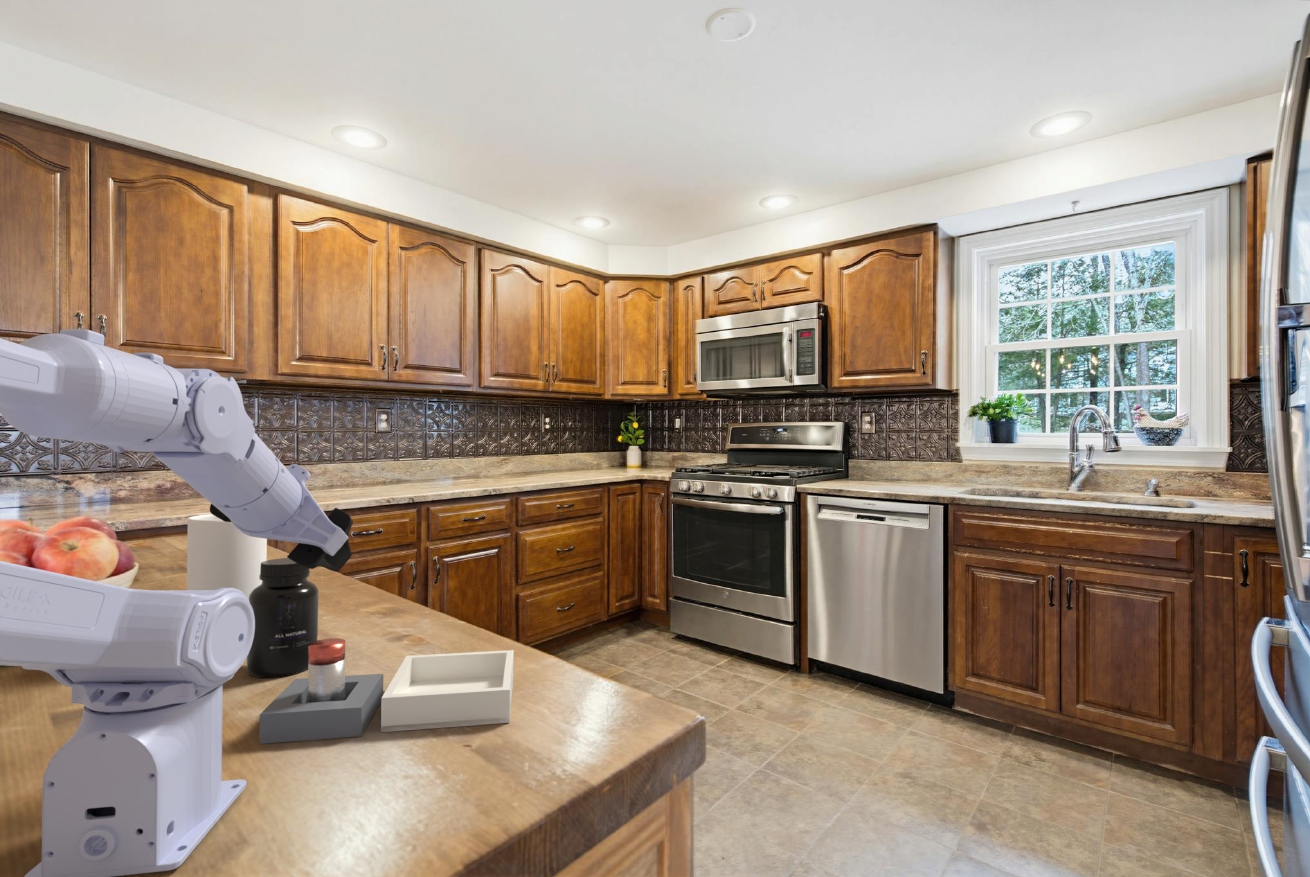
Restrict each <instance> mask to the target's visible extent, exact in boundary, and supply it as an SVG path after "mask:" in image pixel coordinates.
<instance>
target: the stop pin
mask: <svg viewBox="0 0 1310 877" xmlns="http://www.w3.org/2000/svg"><path fill="white" fill-rule="evenodd" d="M307 670H308V673H307V678H308V703H312V702H328V701H343V700H345V676H346V639H344V638H343V639H342V638H338V637H337V638H336V637H333V638H332V637H331V638H324V639H317V641H315V642H312V643H310V644H309V646H308V669H307Z"/></svg>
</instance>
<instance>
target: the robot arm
mask: <svg viewBox="0 0 1310 877" xmlns="http://www.w3.org/2000/svg"><path fill="white" fill-rule="evenodd" d="M244 405H245V404H244V399H243V395H242V391H241V390H240V387H239V385H238V383H237V381H236V379H235V378H234V377H233V376H230V377H226V376H225V377H223V376H221V375H220V374H219V373H218V372H216V371H214V370H212V369H210V368H209V369H208V368H175V367H172V366H171V365H169V364H166V363H164V358H163V356H161V355H159V354H156V353H154V352H153V353H152V352H134V353H133V354H132V353H129V352H126V351H124V350H123V351H122V350H119V349H116V348H113V347H109V346H107V345H105V335H104V334H103V333H99V332H96V331H93V330H90V329H81V328H80V329H79V328H77V329H76V328H75V329H74V328H68V329H67V328H64V329H63V328H62V329H60V331H59V333H53V332H52V333H45V334H39V335H36V336H33V337H30V338H28V339H26V340H24V341H21V342H20V343H16V342H14V341H11V340H6V339H4V338H1V337H0V415H1V417H2V418H3V419H4V420H5V421H6V423H8V424H9V425H10V426H11V427H12V428H14V429H16V430H17V431H19V432H21V433H23V434H24V435H28V436H32V437H35V438H36V437H37V438H45V439H54V440H62V441H71V442H80V443H89V444H99V445H105V446H106V447H108V448H109V449H110V450H112V451H114V452H116V453H120V454H121V453H123V452H125V451H131V452H141V453H142V452H144V453H145V452H146V453H147V452H150V453H151V454H152V455H153V457H155V458H157V460H159V461H160V462H161V463H162V464H164V465H165V467H167V468H168V469H169V470H171V471H172V472H173V473H174V474H176V476H178V477H179V478H181V479H182V480H183V482H186V484H188V486H190V487H191V488H192V489H193V490H194V491H196V492H197V493H198V494H200V495H201V496H202V497H203V498H205V499H206V500H207V501H208V502H209V503H210V506H209V512H210V514H213V515H214V516H216V517H218V518H219V519H221V520H223V521H225V522H232V523H233V525H234V526H235V527H236V528H237V529H238V530H240V531H241V532H242V533H244V534H246V535H248V536H252V537H257V538H265V539H267V540H274V541H281V542H289V543H298V544H297V545H296V546H295V547H294V548H293V549H292V550H291V551H290V553H288V555H287V556H286V558H289V559H290V560H292V561H294V562H296V563H297V564H299V565H301V566H303V567H305V568H309V570H314V569H316V568H318V567H319V568H321V567H322V568H325V569H326V570H329V571H331V572H335V573H337V572H340V571H341V569H342V568H343V567H344V566H345V565H346V563H347V562H348V561H349V560H350V559H351V557H352V556H353V555H352V550H351V546H350V542H349V537H350V536H349V535H350V531H351V529H352V526H353V525H354V521H353V519H352V517H351V515H349V513H347V512H346V511H343V510H341V509H340V508H338V507H334V508H333V510H332V511H331V512H330V513H329V514H328V515H327V514H326V512H325V511H324V510H323V508H322V507H321V506H320V504H319V503H318V502H317V501H316V499H315V498H314V496H313V495H312V493H311V492H310V490H309V489H308V488H307V486H306V484H307V482H309V480H310V478H311V475H312V474H311V472H309V470H308V469H306V468H305V467H303V466H301V465H299V464H297V463H293V464H289V465H288V466H287V468H286V465H284V464H283V462H281V461H280V459H279V458H278V457H277V456H276V455H275V454H274V453H273V452H272V450H271V449H270V448H269V447H268V445H266V443H265V442H264V441H263V440H262V439H261V438H260V437H259V436H258V434H257V433H256V428H255V426H254V421H253V419H251V418H250V416H249V415H248V413H247V411H246V408H245V406H244ZM254 632H255V617H254V612H253V609H252V606H251V604H250V602H249V600H248V598H247V597H246V595H245V594H244V593H243V592H242V591H240V590H239V589H235V588H220V589H218V590H187V589H186V590H185V589H183V590H182V589H181V590H180V589H175V590H174V589H170V590H168V589H165V590H164V589H161V590H159V589H157V590H156V589H155V590H154V589H151V590H150V589H141V588H138V589H137V588H128V587H124V586H119V585H114V584H109V583H105V582H101V581H95V580H92V579H86V578H82V577H77V576H73V575H68V574H62V573H59V572H55V571H49V570H45V569H40V568H35V567H29V566H25V565H22V564H17V563H11V562H7V561H2V560H0V666H8V667H9V666H10V667H11V666H13V667H21V668H22V669H23V670H34V671H35V670H37V671H42V672H45V673H46V674H49V675H50V676H51V677H52V678H54V680H56V681H57V682H58V683H59V684H61V685H63V686H65V687H70V688H71V704H79V705H83V710H82V716H81V720H80V723H79V725H78V727H77V728H76V731H75V732H74V733H73V734H72V736H71V737H70V738H69V739H68V740H67V741H66V742H65V743H64V744H63V745H61V747H60V748H59V749H58V750H57V751H56V752H55V753H54V755H53V756H52V757H51V759H50V760H49V762H48V764H47V766H46V768H45V771H44V774H43V778H42V779H43V780H42V788H41V789H42V796H41V798H42V800H41V801H42V803H41V806H42V808H41V809H42V810H41V815H42V816H41V861H40V862H38V863H37V865H35V866H34V867H32V869H30V870H29V871H28V872H27V873H26V874H24V876H23V877H121V876H122V877H123V876H132V875H139V874H150V873H156V872H157V873H158V872H159V873H160V872H169V871H172V870H176V869H177V868H179V867H180V866H181V865H182V864H183V863H184V862H185V861H186V859H187V858H188V857H189V856H190V855H191V854H192V852H193V851H194V850H195V848H196V847H197V846H198V845H199V844H200V843H201V841H202V840H203V839H204V838H205V837H206V836H207V835H208V833H209V832H210V831H211V829H212V828H214V826H215V825H216V823H217V822H218V821H219V820H220V819H221V818H222V816H223V815H224V814H225V812H226V811H227V810H228V809H229V808H230V807H231V805H232V804H233V803H234V802H235V800H237V799H238V797H239V796H240V794H241V793H242V792H243V791H244V790H245V789H246V788H247V782H248V781H247V780H246V779H244V778H243V779H241V778H240V779H233V780H231V779H230V780H223V779H222V778H223V776H222V774H223V769H222V768H223V701H224V700H223V696H224V694H223V689H224V688H223V687H224V686H223V685H224V684H225V683H226V682H228V681H230V680H231V679H233V678H234V676H235V674H236V673H237V672H238V671H239V669H240V668H241V667H242V665H243V664H244V663H245V661H246V660H247V656H248V654H249V651H250V649H251V646H252V642H253V638H254Z"/></svg>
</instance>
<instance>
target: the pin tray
mask: <svg viewBox="0 0 1310 877" xmlns="http://www.w3.org/2000/svg"><path fill="white" fill-rule="evenodd" d="M514 653H515V650H514V649H511V650H510V649H509V650H493V651H492V650H491V651H490V650H488V651H474V652H473V651H471V652H454V653H435V654H416V655H415V654H413V655H406V656H405V658H404V660H403V661H402V663H401V664H400V666H399V667H398V670H397V671H396V672H395V675H394V676H393V678H392V680H391V681H390V683H389V685H388V686H387V688H386V690H385V691H384V692H383V696H382V698H381V703H380V707H381V709H380V711H381V713H380V714H381V717H380V718H381V719H380V720H381V721H380V722H381V723H380V724H381V725H380V732H381V733H387V732H388V733H389V732H401V731H403V732H405V731H414V730H415V731H416V730H429V729H430V730H431V729H440V728H441V729H443V728H455V727H456V728H457V727H468V726H481V725H482V726H483V725H496V724H508V723H510V722H511V721H510V720H511V711H512V699H513V698H512V697H513V687H514V678H515V677H514V669H515V668H514V667H515V665H514V661H515V660H514V659H515V658H514V657H515V654H514Z"/></svg>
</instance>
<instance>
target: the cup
mask: <svg viewBox="0 0 1310 877" xmlns="http://www.w3.org/2000/svg"><path fill="white" fill-rule="evenodd" d="M186 537H187V543H186V544H187V545H186V546H187V548H186V549H187V551H186V552H187V555H186V557H187V558H186V562H187V563H186V569H187V570H186V590H218V589H220V588H235V589H239V590H240V591H242V592H243V593H244V594H245V595H246V597H247V598H248V600H249V596H250V594H251V592H252V591H253V590H254V589H255V588H256V587H258V586H259V585H261V584H262V580H260V579H259V575H260V568H261V562H264V561H267V560H268V558H267V557H268V556H267V555H268V553H267V550H268V539H265V538H257V537H252V536H248V535H246V534H244V533H242V532H241V531H240V530H238V529H237V528H236V527H235V526H234V525H233V523H232V522H225V521H223V520H221V519H219V518H218V517H216V516H214V515H213V514H211V513H207V514H201V515H200V514H199V515H195V516H193V515H192V516H190V517H188V518H187V536H186Z"/></svg>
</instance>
